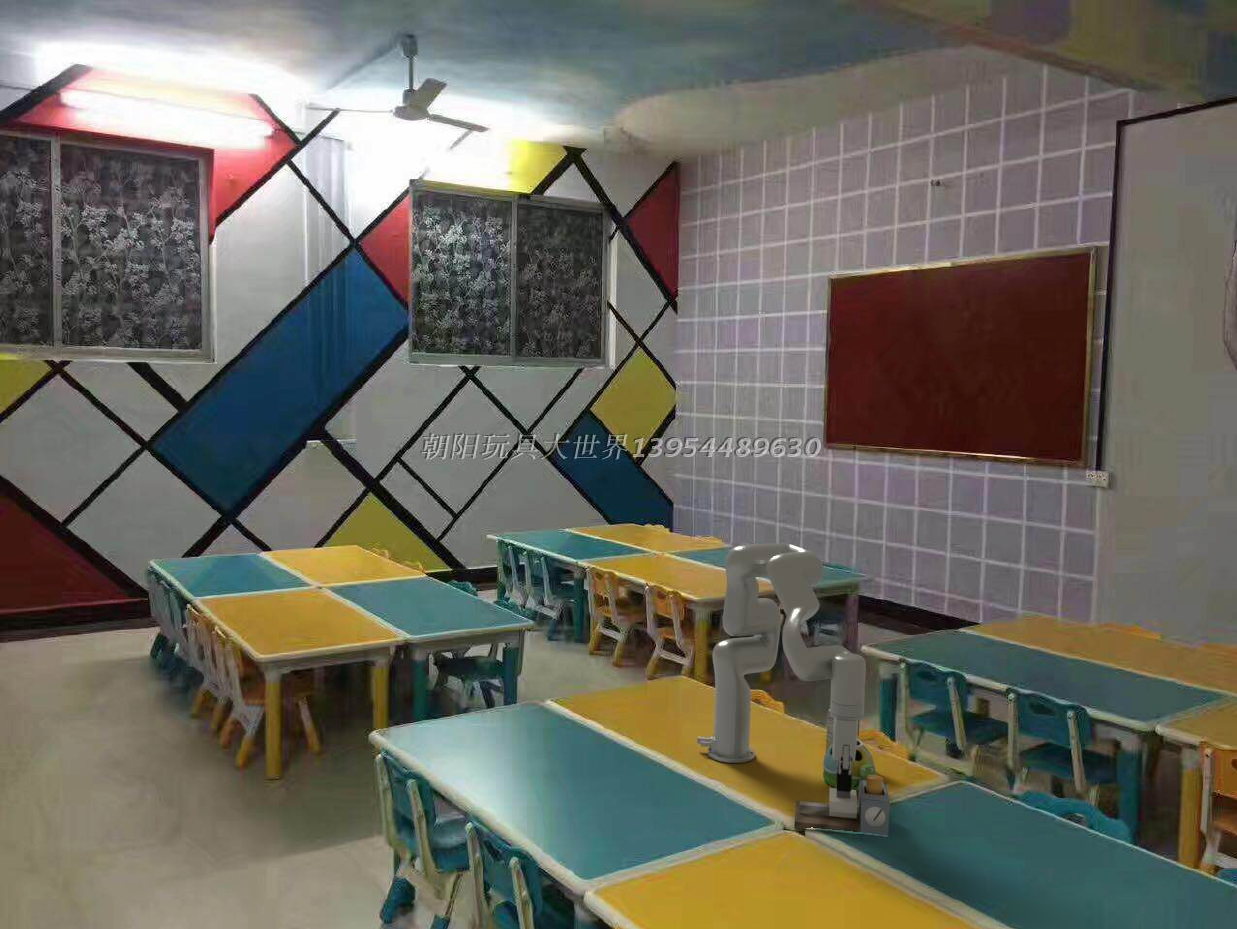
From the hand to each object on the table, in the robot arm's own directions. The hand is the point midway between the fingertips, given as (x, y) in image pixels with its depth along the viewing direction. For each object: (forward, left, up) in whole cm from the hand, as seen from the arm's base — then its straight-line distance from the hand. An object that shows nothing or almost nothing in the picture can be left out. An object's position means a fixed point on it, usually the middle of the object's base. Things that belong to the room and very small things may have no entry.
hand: (843, 786), depth 237 cm
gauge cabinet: (+7, 0, -8) cm, 11 cm away
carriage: (0, 0, -6) cm, 6 cm away
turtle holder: (+3, +20, -9) cm, 22 cm away
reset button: (+7, 0, -1) cm, 7 cm away
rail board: (-3, 0, -8) cm, 9 cm away
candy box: (+1, +37, -8) cm, 38 cm away
